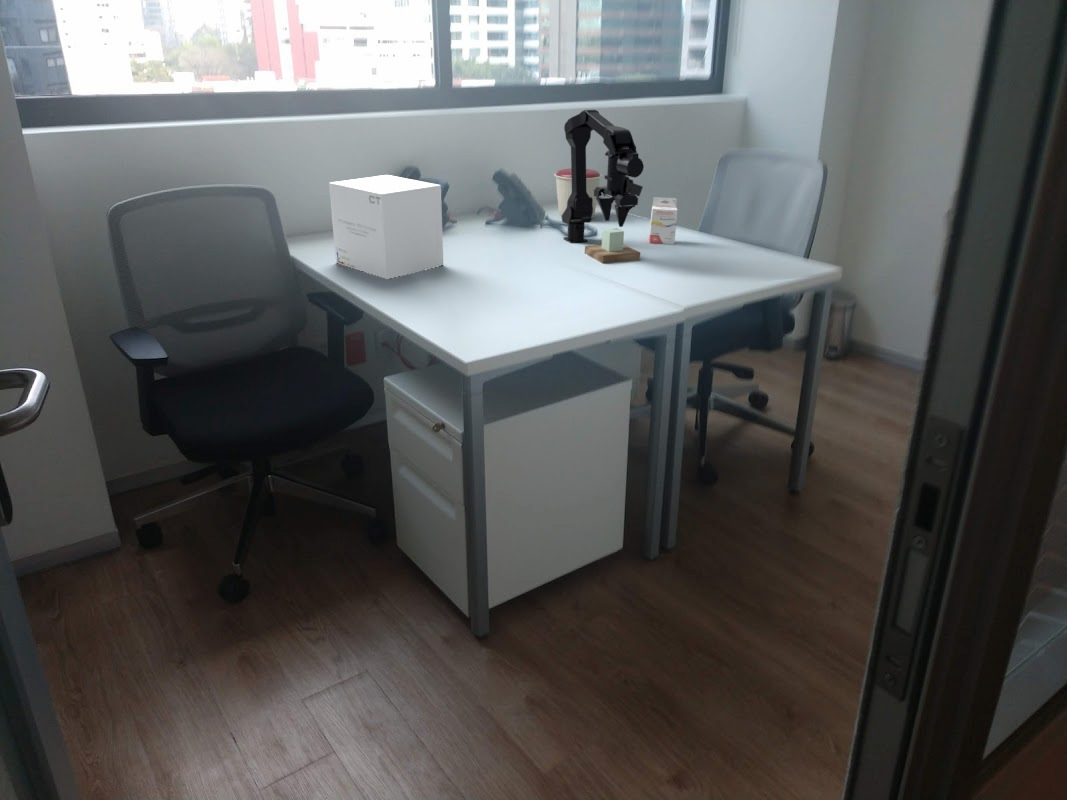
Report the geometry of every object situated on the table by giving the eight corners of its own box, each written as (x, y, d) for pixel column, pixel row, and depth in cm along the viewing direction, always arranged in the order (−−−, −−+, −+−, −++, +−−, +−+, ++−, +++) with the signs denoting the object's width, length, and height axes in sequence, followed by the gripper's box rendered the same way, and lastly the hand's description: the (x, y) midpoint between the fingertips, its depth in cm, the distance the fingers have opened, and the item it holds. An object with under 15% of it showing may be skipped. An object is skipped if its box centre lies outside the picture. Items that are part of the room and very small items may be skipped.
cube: (336, 264, 246) (328, 182, 236) (392, 252, 260) (387, 174, 250) (387, 281, 231) (381, 194, 221) (443, 267, 245) (440, 185, 235)
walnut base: (584, 255, 261) (585, 246, 260) (620, 252, 266) (620, 243, 265) (602, 265, 250) (603, 255, 249) (639, 261, 255) (640, 252, 254)
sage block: (601, 248, 258) (602, 229, 256) (615, 246, 260) (616, 228, 258) (609, 251, 254) (609, 232, 252) (622, 250, 256) (623, 231, 253)
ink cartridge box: (649, 243, 275) (652, 199, 269) (648, 240, 280) (652, 197, 274) (674, 244, 274) (678, 200, 268) (673, 241, 279) (677, 197, 273)
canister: (586, 225, 300) (589, 166, 291) (544, 219, 308) (545, 162, 299) (608, 217, 314) (610, 161, 305) (567, 211, 322) (568, 157, 314)
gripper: (655, 175, 242) (651, 228, 248) (625, 167, 258) (622, 216, 264) (622, 177, 238) (619, 230, 245) (594, 168, 254) (592, 218, 260)
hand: (614, 223), depth 253 cm, fingers open, 9 cm apart
